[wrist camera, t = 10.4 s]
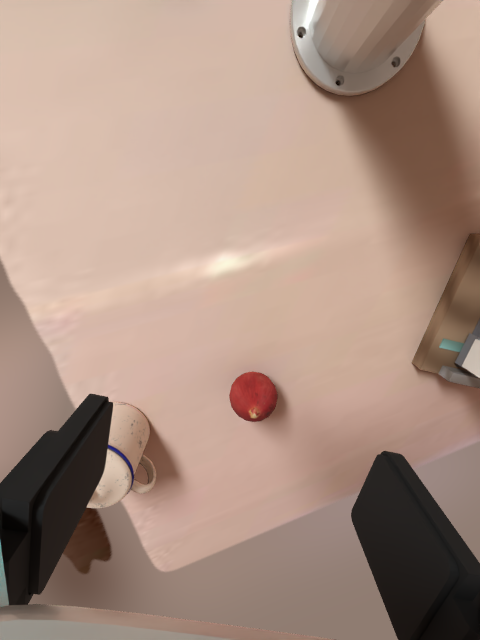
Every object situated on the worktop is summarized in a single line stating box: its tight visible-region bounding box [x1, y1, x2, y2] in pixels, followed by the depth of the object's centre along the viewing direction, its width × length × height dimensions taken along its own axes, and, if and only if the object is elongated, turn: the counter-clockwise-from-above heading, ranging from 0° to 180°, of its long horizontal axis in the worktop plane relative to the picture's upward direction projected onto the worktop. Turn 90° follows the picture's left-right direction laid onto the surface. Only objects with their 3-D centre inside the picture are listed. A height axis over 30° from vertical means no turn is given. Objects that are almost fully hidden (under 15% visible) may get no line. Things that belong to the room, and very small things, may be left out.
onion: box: [229, 372, 277, 422], centre depth 38 cm, size 6×6×8 cm
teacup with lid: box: [87, 402, 156, 508], centre depth 38 cm, size 12×9×12 cm
